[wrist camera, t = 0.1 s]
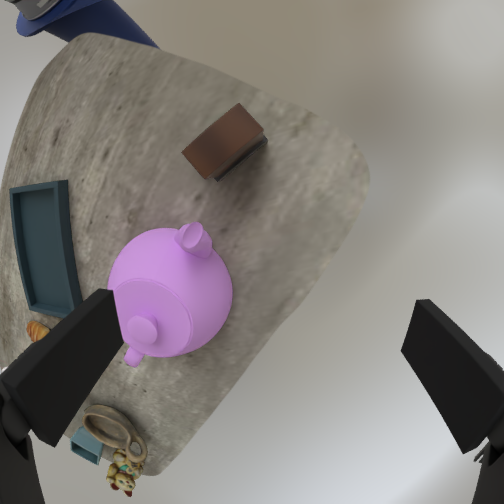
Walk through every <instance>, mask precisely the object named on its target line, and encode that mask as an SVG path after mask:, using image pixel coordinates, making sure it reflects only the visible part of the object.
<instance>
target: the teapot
mask: <svg viewBox="0 0 504 504" xmlns="http://www.w3.org/2000/svg"><path fill="white" fill-rule="evenodd" d="M107 289H108V290H113V293H114V299H115V304H116V309H117V314H118V319H119V324H120V329H121V333H122V337H123V340H124V341H125V342H126V343H127V344H128V345H130V347H129V349H128V351H127V352H126V354H125V356H124V361H125V362H126V363H127V364H128V365H130V366H132V367H137V366H138V365H139V363H140V362H141V360H142V358H143V357H144V355H145V354H146V355H149V356H153V357H174V356H178V355H182V354H186V353H189V352H191V351H194V350H196V349H198V348H200V347H201V346H203V345H204V344H206V343H207V342H208V341H210V340H211V339H212V338H213V337H214V336H215V335H216V334H217V332H218V331H219V330H220V329H221V327H222V326H223V324H224V322H225V321H226V319H227V317H228V314H229V311H230V308H231V304H232V296H233V290H232V282H231V278H230V275H229V272H228V269H227V268H226V266H225V264H224V262H223V260H222V259H221V258H220V256H219V255H218V254H217V253H216V252H215V250H214V249H213V248H212V240H211V237H210V235H209V234H208V233H207V232H206V231H205V230H203V227H202V225H201V224H200V223H199V222H193V223H191V224H186V225H184V226H182V227H181V228H180V229H179V230H178V229H173V228H157V229H153V230H149V231H146V232H144V233H142V234H140V235H138V236H137V237H135V238H134V239H132V240H131V241H130V242H129V243H128V244H127V245H126V246H125V247H124V248H123V249H122V251H121V252H120V253H119V255H118V257H117V258H116V260H115V262H114V264H113V266H112V269H111V272H110V275H109V279H108V287H107Z"/></svg>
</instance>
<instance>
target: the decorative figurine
mask: <svg viewBox="0 0 504 504" xmlns="http://www.w3.org/2000/svg"><path fill="white" fill-rule="evenodd" d="M131 451H132V450H131ZM132 453H133V454H134V455H138V454H137V453H135V452H133V451H132ZM113 459H114V463H112V464H111V465H110V466H109V470H108V475H107V478H106V480H107V482H109V483H110V486H111V488H112V489H113V490H118V489H120V490H122V491H123V492H124V494H125V495H126V496H128V497H131V496H132V490H133V489H134V487H135V481H134V480H136V479H138V478H139V477H140V475H141V473H142V472H143V467H142V466H143V465H144V462H139V463H136V462H132V461H131V460H129V459H128V457H127V455H126V452H125V449H121V448H120V449H117V450H116V451H115V452H114V454H113Z"/></svg>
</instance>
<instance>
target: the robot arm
mask: <svg viewBox="0 0 504 504" xmlns="http://www.w3.org/2000/svg"><path fill="white" fill-rule="evenodd" d="M5 1H8V2H10V3H13V4H14V5H15V6H16V7H17V8H18V9H19V10H20V11H21V12H22V15H23V17H24V18H26V19H28V20H30V21H35V20H38V19H40V18H42V17H43V16H45V15H46V14H48V13H49V12H50V11H51V10H53V9H54V8H55V7H56V6H57V5H58V4H59V3H60V2H61V1H62V0H5ZM123 343H124V342H123V337H122V333H121V329H120V324H119V319H118V314H117V309H116V304H115V299H114V293H113V290H108V289H98V290H96V291H95V292H94V293H93V294H92V295H90V296H89V297H88V298H87V299H86V300H85V301H83V302H82V303H81V304H80V305H79V306H78V307H76V308H75V309H74V310H73V311H72V312H71V313H70V314H68V315H67V316H66V317H65V318H64V319H63V320H62V321H61V322H59V323H58V324H57V325H56V326H55V327H54V328H53V329H52V330H51V331H49V332H48V333H47V334H46V335H45V336H44V337H43V338H42V339H40V340H38V341H36V342H34V343H32V344H31V345H30V346H29V347H28V348H27V349H26V350H25V351H24V353H22V354H20V355H19V356H18V359H15V360H14V361H13V362H12V363H11V364H10V365H9V366H8V367H7V368H6V369H5V370H4V371H3V372H2V373H1V374H0V504H45V501H44V498H43V494H42V490H41V487H40V483H39V478H38V474H37V470H36V465H35V460H34V454H33V448H32V441H31V438H30V436H29V435H28V432H29V431H30V429H32V431H33V432H34V433H35V435H36V436H37V437H38V439H39V440H41V441H43V442H45V443H47V444H49V445H51V446H53V447H55V446H56V445H57V443H58V442H59V440H60V438H61V437H62V435H63V433H64V432H65V430H66V429H67V427H68V425H69V424H70V422H71V421H72V419H73V417H74V416H75V414H76V413H77V411H78V410H79V408H80V407H81V405H82V403H83V402H84V400H85V399H86V397H87V396H88V394H89V393H90V391H91V390H92V388H93V387H94V385H95V384H96V382H97V381H98V379H99V378H100V376H101V375H102V373H103V372H104V371H105V369H106V368H107V366H108V365H109V363H110V362H111V360H112V359H113V358H114V356H115V355H116V353H117V352H118V350H119V349H120V348H121V346H122V345H123ZM401 352H402V354H403V355H404V357H405V358H406V360H407V361H408V363H409V364H410V366H411V367H412V369H413V370H414V372H415V373H416V375H417V377H418V378H419V380H420V381H421V383H422V384H423V386H424V388H425V389H426V391H427V392H428V394H429V396H430V397H431V399H432V401H433V402H434V404H435V405H436V407H437V409H438V411H439V412H440V414H441V415H442V417H443V419H444V421H445V423H446V424H447V426H448V428H449V430H450V431H451V433H452V435H453V437H454V439H455V440H456V442H457V444H458V446H459V448H460V449H461V452H462V453H463V454H465V453H467V452H469V451H471V450H473V449H475V448H477V447H478V446H479V445H480V444H481V442H482V441H483V440H484V439H485V438H486V436H487V438H488V439H489V442H488V443H487V444H486V445H485V447H484V448H483V449H482V450H481V451H480V452H479V453H478V454H477V456H476V457H475V459H474V461H477V460H478V459H479V458H480V456H481V455H483V454H484V455H483V457H482V459H481V460H480V461H479V463H482V465H481V470H480V475H479V479H478V483H477V487H476V491H475V494H474V498H473V502H472V504H504V371H503V370H502V368H501V367H500V366H499V365H497V362H496V361H494V359H493V358H492V357H491V356H490V355H489V354H487V353H485V352H484V351H483V350H482V349H481V348H480V347H479V346H478V345H477V344H476V343H475V342H474V341H473V340H472V339H471V338H470V337H469V336H468V335H467V334H466V333H465V332H464V331H463V330H462V329H461V328H460V327H458V325H457V324H455V322H453V321H452V320H451V319H450V318H449V317H448V316H447V315H446V314H445V313H444V312H443V311H442V310H441V309H439V308H438V307H437V306H436V305H435V304H434V303H433V302H432V301H431V300H430V299H425V300H416V303H415V307H414V310H413V314H412V317H411V321H410V324H409V327H408V331H407V334H406V337H405V340H404V343H403V346H402V349H401Z"/></svg>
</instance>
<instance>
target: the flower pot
mask: <svg viewBox="0 0 504 504" xmlns="http://www.w3.org/2000/svg"><path fill="white" fill-rule="evenodd" d="M103 445H104V443H102V442H100V441H99V440H97V439H96V438H95V437H94V436H93V435H92V434H91V433H89V432H88V431H87V430H86V429H85V427H84V426H82V427H80V428H79V429H78V430H77V431H76V433H75V434H74V435H73V436H72V438H71V439H70V447H71V451H73V452H74V453H76V454H77V455H79V456H81V457H83V458H85V459H86V460H88V461H90V462H92V463H94V464H96V465H98V464H99V461H100V458H101V455H102V450H103Z"/></svg>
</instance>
